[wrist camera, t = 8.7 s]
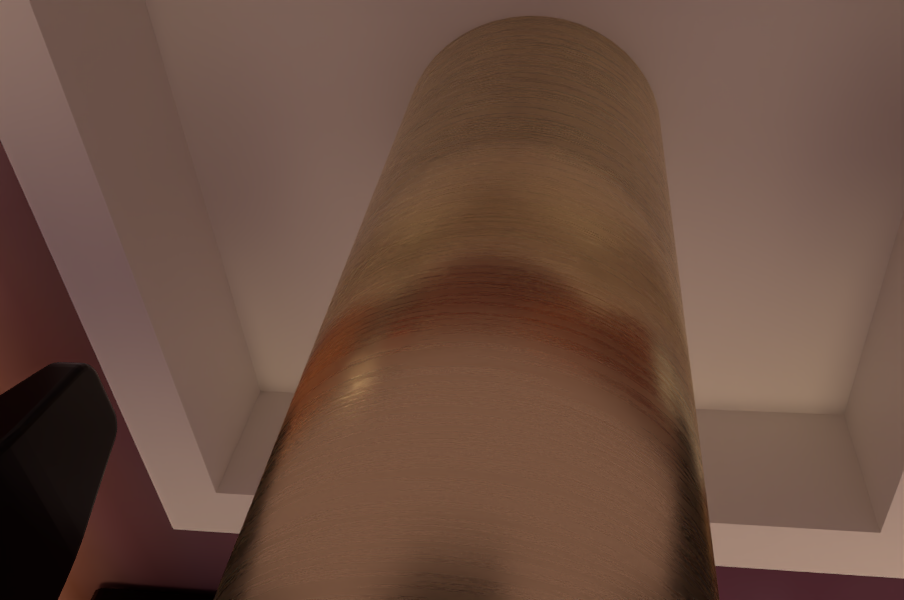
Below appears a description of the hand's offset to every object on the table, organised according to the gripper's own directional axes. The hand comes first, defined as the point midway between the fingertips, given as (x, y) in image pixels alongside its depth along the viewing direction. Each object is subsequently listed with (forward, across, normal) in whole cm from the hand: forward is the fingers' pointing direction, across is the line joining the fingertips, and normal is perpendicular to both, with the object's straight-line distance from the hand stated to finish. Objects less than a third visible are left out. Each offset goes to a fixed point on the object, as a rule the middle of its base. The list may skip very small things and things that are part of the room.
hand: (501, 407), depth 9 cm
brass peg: (+6, 0, 0) cm, 6 cm away
